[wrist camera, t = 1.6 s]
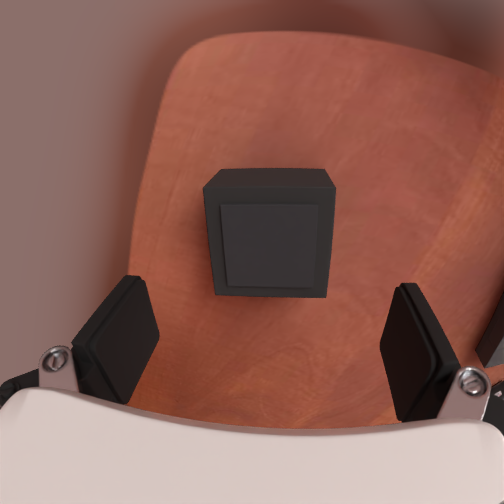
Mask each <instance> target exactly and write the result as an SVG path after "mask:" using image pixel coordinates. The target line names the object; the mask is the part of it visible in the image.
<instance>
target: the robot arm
mask: <svg viewBox="0 0 504 504" xmlns="http://www.w3.org/2000/svg"><path fill="white" fill-rule="evenodd" d="M158 341H159V330H158V326H157V323H156V320H155V316H154V313H153V309H152V305H151V302H150V298H149V294H148V291H147V287H146V283H145V281H144V280H142V279H141V277H140V276H132V275H126V276H124V277H123V278H122V280H121V281H120V282H119V283H118V284H117V285H116V287H115V288H114V289H113V290H112V291H111V293H110V294H109V295H108V296H107V297H106V299H105V300H104V301H103V302H102V304H101V305H100V306H99V307H98V309H97V310H96V311H95V312H94V313H93V315H92V316H91V317H90V319H89V320H88V321H87V323H86V324H85V325H84V326H83V328H82V329H81V330H80V331H79V333H78V334H77V335H76V337H75V338H74V339H73V341H72V342H71V343H72V345H73V348H72V349H71V350H70V349H69V348H68V347H66V346H55V347H52V348H50V349H48V350H47V351H46V352H45V353H44V354H43V355H42V356H41V358H40V360H39V368H38V369H36V370H33V371H31V372H28V373H25V374H23V375H20V376H17V377H14V378H12V379H9V380H8V381H6V382H4V383H3V384H2V385H1V387H0V504H504V399H502V398H500V397H498V396H496V395H495V394H493V393H491V382H490V379H489V377H488V375H487V374H486V373H485V372H484V371H483V370H481V369H479V368H477V367H474V366H465V367H462V368H461V366H460V364H459V361H458V359H457V357H456V355H455V353H454V351H453V349H452V347H451V345H450V343H449V341H448V339H447V337H446V335H445V333H444V331H443V329H442V327H441V325H440V324H439V322H438V320H437V318H436V316H435V314H434V313H433V311H432V309H431V307H430V305H429V304H428V302H427V300H426V298H425V297H424V295H423V293H422V292H421V290H420V288H419V287H418V285H417V284H416V283H401V284H400V286H399V287H396V288H395V291H394V295H393V299H392V303H391V306H390V310H389V314H388V317H387V321H386V324H385V327H384V331H383V334H382V337H381V340H380V352H381V355H382V359H383V362H384V366H385V370H386V374H387V378H388V382H389V386H390V390H391V394H392V398H393V403H394V407H395V411H396V416H397V419H398V421H402V423H397V424H388V425H377V426H365V427H351V428H330V429H287V428H264V427H250V426H239V425H229V424H220V423H213V422H205V421H199V420H192V419H186V418H180V417H175V416H170V415H165V414H160V413H155V412H150V411H146V410H142V409H137V408H133V407H129V406H126V405H124V404H127V403H128V402H129V400H130V398H131V396H132V394H133V392H134V389H135V387H136V385H137V383H138V381H139V379H140V377H141V375H142V373H143V371H144V369H145V367H146V365H147V363H148V361H149V359H150V357H151V355H152V353H153V351H154V349H155V347H156V345H157V343H158Z"/></svg>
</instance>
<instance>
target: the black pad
mask: <svg viewBox="0 0 504 504" xmlns="http://www.w3.org/2000/svg"><path fill="white" fill-rule="evenodd" d="M203 194H204V204H205V214H206V223H207V232H208V241H209V249H210V258H211V266H212V274H213V282H214V289H215V295H226V296H253V297H294V298H326V295H327V287H328V278H329V269H330V260H331V250H332V239H333V227H334V213H335V198H336V187H335V186H334V184H333V182H332V180H331V179H330V177H329V176H328V174H327V172H326V171H325V169H302V168H248V169H221V170H220V171H219V172H218V173H217V174H216V175H215V176H214V177H213V178H212V179H211V180H210V181H209V182H208V183H207V184H206V185H205V186H204V187H203Z"/></svg>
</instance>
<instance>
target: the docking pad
mask: <svg viewBox="0 0 504 504" xmlns="http://www.w3.org/2000/svg"><path fill="white" fill-rule="evenodd" d="M475 351H476V353H477V355H478V357H479V359H480V361H481V363H482V365H483V367H484V368H489V367H493V366H497V365H500V364H504V293H503V295H502V297H501V300H500V302H499V304H498V307H497V309H496V311H495V313H494V315H493V317H492V319H491V321H490V324H489V326H488V328H487V330H486V331H485V333H484V335H483V337H482V339H481V341H480V343H479V345H478V346H477V348H476V350H475Z"/></svg>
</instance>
